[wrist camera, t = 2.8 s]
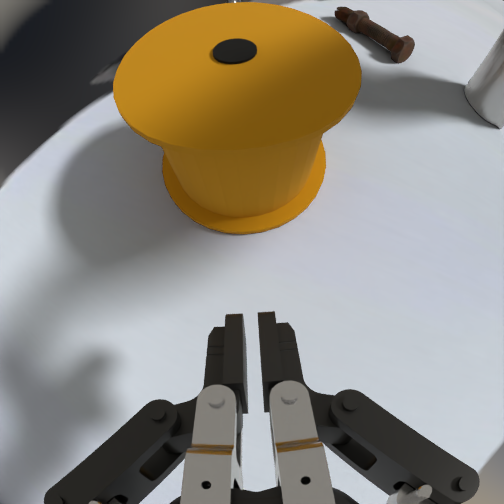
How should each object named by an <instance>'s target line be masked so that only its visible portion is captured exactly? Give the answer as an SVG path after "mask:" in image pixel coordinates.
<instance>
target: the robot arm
mask: <svg viewBox="0 0 504 504" xmlns="http://www.w3.org/2000/svg"><path fill="white" fill-rule="evenodd" d="M464 92H465V95H466V98H467V100H468V101H469V103H470V104H471V106H472V107H473V108H474V109H475V111H476V112H477V113H478V114H479V115H480V116H481V117H483V118H484V119H485V120H486V121H488V122H490V123H491V124H494V125H496V126H498V127H499V128H500V129H501V128H502V127H503V126H504V30H503V31H502V33H501V34H500V36H499V38H498V39H497V41H496V42H495V44H494V45H493V47H492V49H491V50H490V52H489V53H488V55H487V56H486V58H485V59H484V61H483V62H482V64H481V65H480V67H479V68H478V69H477V71H476V72H475V74H474V75H473V77H472V78H471V79H470V81H469V82H468V84H467V85H466V87H465V88H464ZM258 326H259V341H260V356H261V370H262V385H263V399H264V412H269V413H270V429H271V438H272V447H273V456H274V465H275V477H276V487H274V488H271V489H267V490H264V491H260V492H252V491H247V490H243V476H242V428H243V414H247V413H248V392H247V356H246V338H245V328H244V319H243V314H226V317H225V327H214V328H213V330H212V331H211V333H210V335H209V336H208V348H207V356H206V367H205V378H204V386H203V389H202V391H201V392H200V394H199V395H198V396H197V397H195V398H194V399H192V400H190V401H187V402H184V403H180V404H176V405H173V404H172V403H171V402H169V401H167V400H161V399H159V400H153V401H151V402H149V403H148V404H146V405H145V406H144V407H143V408H142V409H141V410H140V411H139V412H138V413H137V414H135V415H134V416H133V417H132V418H131V419H130V420H129V421H128V422H127V423H126V424H124V425H123V426H122V427H121V428H120V429H119V430H118V431H117V432H116V433H114V434H113V435H112V436H111V437H110V438H109V439H108V440H107V441H105V442H104V443H103V444H102V445H101V446H100V447H99V448H98V449H96V450H95V451H94V452H93V453H92V454H91V455H89V456H88V457H87V458H86V459H85V460H84V461H83V462H81V463H80V464H79V465H78V466H77V467H76V468H74V469H73V470H72V471H71V472H70V473H68V474H67V475H66V476H65V477H64V478H62V479H61V480H60V481H59V482H58V483H56V484H55V485H54V486H53V487H52V488H50V489H49V490H48V491H47V492H46V494H45V497H44V504H139V503H140V502H141V501H142V500H143V499H144V498H145V497H146V496H147V495H148V494H149V493H151V492H152V491H153V490H154V489H155V488H156V487H157V486H158V485H159V484H160V483H161V482H162V481H163V480H164V479H165V478H166V477H167V476H168V475H169V474H170V473H171V472H172V471H173V470H174V469H175V468H176V467H177V466H178V465H179V464H180V463H181V462H182V461H183V460H184V458H185V463H184V472H183V482H182V491H181V496H180V497H178V498H176V499H175V500H173V501H172V502H171V503H170V504H359V503H357V502H356V501H355V500H353V499H352V498H351V497H350V496H348V495H347V494H345V493H344V492H342V491H340V490H338V489H335V488H333V487H332V484H331V479H330V474H329V469H328V464H327V460H326V455H325V450H324V446H323V444H322V443H324V444H325V445H326V446H327V447H328V448H329V449H330V450H331V451H333V452H334V453H335V454H336V455H337V456H339V457H340V458H341V459H342V460H344V461H345V462H346V463H347V464H349V465H350V466H351V467H352V468H354V469H355V470H356V471H357V472H359V473H360V474H361V475H363V476H364V477H365V478H366V479H368V480H369V481H370V482H372V483H373V484H374V485H376V486H377V487H378V488H380V489H381V490H383V491H384V492H385V493H387V494H388V495H389V498H388V500H387V504H461V503H463V502H465V501H467V500H469V499H470V498H472V497H473V496H474V495H475V493H476V492H477V490H478V487H479V476H478V474H477V472H476V471H475V470H474V469H473V468H471V467H469V466H468V465H466V464H465V463H463V462H461V461H460V460H458V459H457V458H455V457H454V456H452V455H451V454H449V453H448V452H446V451H444V450H443V449H441V448H440V447H438V446H437V445H435V444H434V443H432V442H431V441H429V440H428V439H426V438H425V437H423V436H422V435H421V434H419V433H418V432H416V431H415V430H413V429H412V428H410V427H409V426H407V425H406V424H405V423H403V422H402V421H400V420H399V419H397V418H396V417H395V416H393V415H392V414H390V413H389V412H388V411H386V410H385V409H383V408H382V407H381V406H379V405H378V404H376V403H375V402H374V401H372V400H371V399H369V398H368V397H367V396H365V395H364V394H363V393H361V392H359V391H357V390H351V389H348V390H343V391H341V392H339V393H337V394H336V395H335V396H334V395H327V394H321V393H317V392H315V391H313V390H311V389H310V388H309V387H308V386H307V385H306V384H305V382H304V379H303V374H302V369H301V364H300V358H299V353H298V348H297V342H296V337H295V332H294V330H293V329H292V327H291V326H290V325H289V323H288V322H287V323H276V318H275V312H274V311H273V312H259V313H258Z"/></svg>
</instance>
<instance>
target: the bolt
mask: <svg viewBox="0 0 504 504" xmlns="http://www.w3.org/2000/svg"><path fill="white" fill-rule="evenodd" d="M335 17H336V18H337V19H339V20H341V21H342V22H344V23H346V24H347V27H348V28H349V30H351V31H352V32H354V33H360V32H362V33H364V34H365V35H367V36H368V37H370V38H371V39H373V40H375V41H376V42H378V43H379V44H381V45H382V46H384V47H385V48H387V49H388V50H389V51H390V52H391V59H392V60H394V61H395V62H396V63H402V62H404V61H405V60H407V59H408V58H409V56H410V55H411V53H412V51H413V49H414V46H415V43H414V40H413V39H412V38H411V37H409V36H408V35H407V36H404V37H401V38H400V37H398V36H397V35H394V34H393V33H391V32H389V31H388V30H386V29H385V28H383V27H381V26H380V25H378V24H376V23H375V22H373V21H371V20H369V16H368V14H367V13H366V12H364V11H361V10H358V11H353V10H351V9H349V8H347V7H338V8H337V11H335Z"/></svg>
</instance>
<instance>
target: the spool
mask: <svg viewBox="0 0 504 504" xmlns="http://www.w3.org/2000/svg"><path fill="white" fill-rule="evenodd" d="M361 76H362V71H361V67H360V63H359V59H358V57H357V55H356V53H355V52H354V50H353V48H352V47H351V45H350V44H349V43H348V42H347V41H346V39H345V38H344V37H343V36H342V35H341V34H340V33H339V32H337V31H336V30H335V29H333V28H332V27H330V26H329V25H328V24H326V23H325V22H323V21H321V20H319V19H317V18H315V17H313V16H311V15H309V14H306V13H303V12H301V11H298V10H295V9H292V8H288V7H283V6H279V5H274V4H266V3H256V2H236V3H225V4H217V5H212V6H208V7H203V8H198V9H195V10H192V11H190V12H186V13H183V14H181V15H178V16H176V17H174V18H172V19H170V20H168V21H166V22H164V23H162V24H160V25H159V26H157V27H156V28H154V29H152V30H151V31H149V32H148V33H147V34H146V35H144V36H143V37H142V38H141V39H140V40H138V41H137V42H136V43H135V44H134V45H133V46H132V48H131V49H130V50H129V51H128V52H127V54H126V55H125V56H124V58H123V60H122V61H121V63H120V65H119V67H118V69H117V72H116V75H115V79H114V83H113V92H114V100H115V103H116V105H117V108H118V110H119V113H120V114H121V116H122V118H123V119H124V120H125V121H126V123H127V124H128V125H129V126H130V127H131V129H132V130H133V131H134V132H136V133H137V134H139V135H140V136H142V137H143V138H145V139H146V140H148V141H149V142H151V143H153V144H156V145H158V146H161V147H162V149H163V151H164V156H163V167H162V172H163V177H164V182H165V186H166V188H167V190H168V192H169V194H170V196H171V198H172V200H173V201H174V202H175V203H176V205H177V206H178V207H179V208H180V210H181V211H182V212H183V213H184V214H186V215H187V216H188V217H190V218H191V219H192V220H193V221H195V222H197V223H199V224H201V225H203V226H205V227H207V228H209V229H212V230H216V231H220V232H224V233H231V234H252V233H260V232H265V231H268V230H271V229H274V228H277V227H280V226H282V225H284V224H285V223H287V222H289V221H291V220H293V219H294V218H296V217H297V216H298V215H299V214H300V213H302V212H303V211H304V210H305V209H306V208H307V207H308V206H309V205H310V203H311V202H312V201H313V199H314V198H315V197H316V195H317V193H318V191H319V189H320V186H321V184H322V182H323V179H324V174H325V169H326V158H325V151H324V147H323V144H322V140H321V138H322V135H323V133H325V132H326V131H327V130H329V129H330V128H332V127H333V126H335V125H336V124H338V123H339V122H340V121H341V120H342V119H343V117H344V116H345V115H346V114H347V113H348V112H349V111H350V109H351V108H352V106H353V104H354V102H355V99H356V97H357V95H358V92H359V90H360V87H361Z"/></svg>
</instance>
